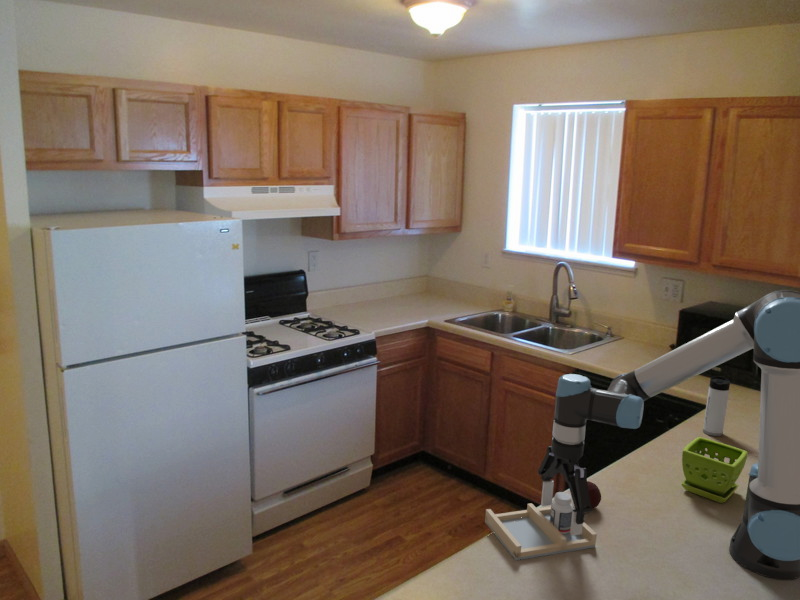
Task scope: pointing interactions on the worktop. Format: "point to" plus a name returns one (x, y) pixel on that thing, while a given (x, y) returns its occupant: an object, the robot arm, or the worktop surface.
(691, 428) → the worktop surface
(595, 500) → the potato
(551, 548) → the open tray
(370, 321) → the worktop surface
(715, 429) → the travel mug
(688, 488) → the flower pot
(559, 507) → the pill bottle
